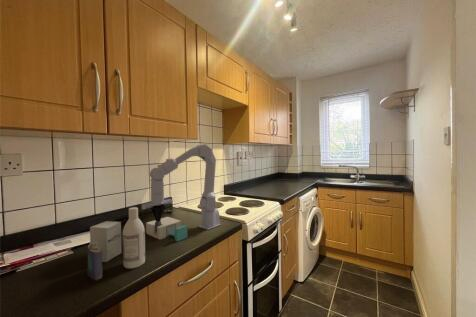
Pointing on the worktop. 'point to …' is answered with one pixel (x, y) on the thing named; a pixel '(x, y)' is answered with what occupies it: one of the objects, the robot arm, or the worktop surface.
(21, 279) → the worktop surface
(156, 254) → the worktop surface
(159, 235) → the housing
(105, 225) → the supplement box
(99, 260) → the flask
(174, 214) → the worktop surface
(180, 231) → the cartridge
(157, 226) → the plunger
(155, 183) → the robot arm
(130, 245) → the bath foam
